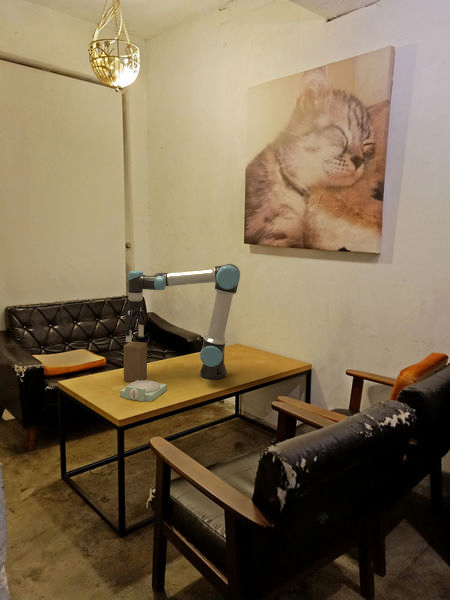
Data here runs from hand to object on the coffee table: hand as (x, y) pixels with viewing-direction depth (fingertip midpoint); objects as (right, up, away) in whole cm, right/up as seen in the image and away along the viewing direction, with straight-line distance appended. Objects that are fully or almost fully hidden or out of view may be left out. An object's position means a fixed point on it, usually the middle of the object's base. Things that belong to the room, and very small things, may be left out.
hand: (134, 339), depth 244 cm
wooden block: (0, -22, +3) cm, 23 cm away
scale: (+8, -26, -17) cm, 32 cm away
